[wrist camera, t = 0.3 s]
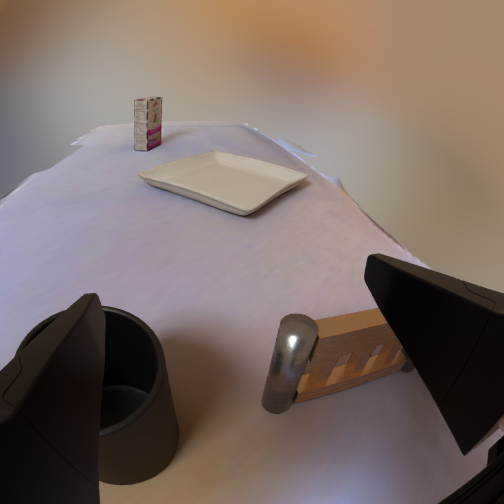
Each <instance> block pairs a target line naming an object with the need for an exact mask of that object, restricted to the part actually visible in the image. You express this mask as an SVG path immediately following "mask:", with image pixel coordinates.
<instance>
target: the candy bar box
mask: <svg viewBox="0 0 504 504" xmlns="http://www.w3.org/2000/svg"><path fill="white" fill-rule="evenodd" d="M134 103H135V104H134V136H135V151H149V150H151V149H152V148H154V147H156V146H158V145H160V144H161V118H162V114H161V113H162V97H149V98H143V99H138V100H135V101H134Z"/></svg>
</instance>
